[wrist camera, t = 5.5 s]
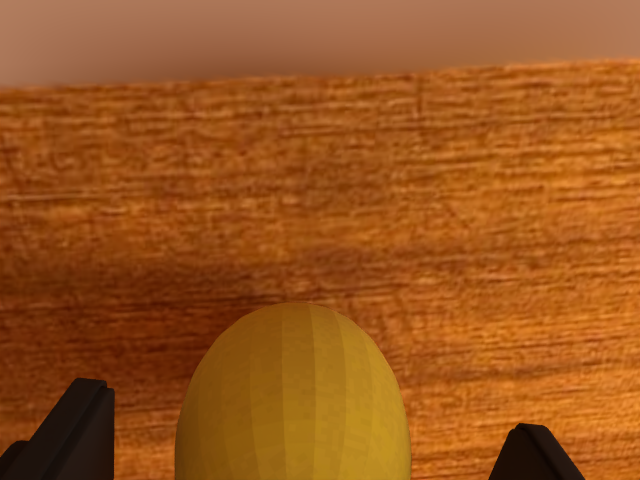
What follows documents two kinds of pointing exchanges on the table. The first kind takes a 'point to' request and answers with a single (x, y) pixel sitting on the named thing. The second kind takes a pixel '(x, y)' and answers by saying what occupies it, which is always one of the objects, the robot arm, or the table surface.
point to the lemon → (293, 403)
